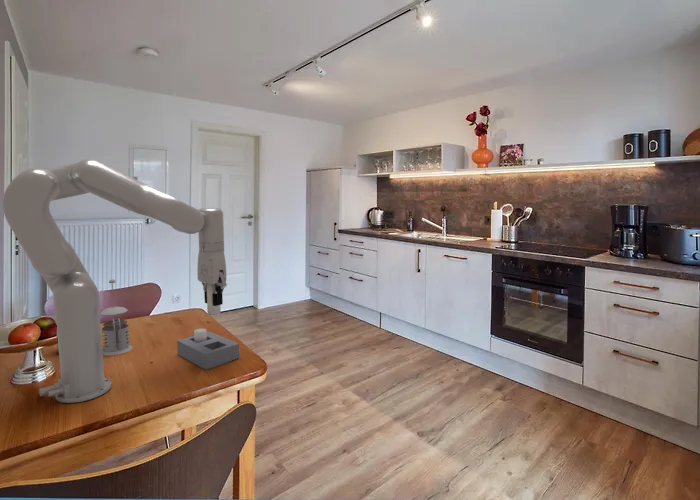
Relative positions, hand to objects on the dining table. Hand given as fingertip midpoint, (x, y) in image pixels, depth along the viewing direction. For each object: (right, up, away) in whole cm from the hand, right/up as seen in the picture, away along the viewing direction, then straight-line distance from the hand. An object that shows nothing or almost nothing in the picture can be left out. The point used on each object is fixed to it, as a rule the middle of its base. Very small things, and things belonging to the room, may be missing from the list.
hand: (213, 303), depth 126 cm
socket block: (-4, -19, +5) cm, 20 cm away
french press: (-37, -18, +9) cm, 42 cm away
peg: (0, -3, 0) cm, 3 cm away
